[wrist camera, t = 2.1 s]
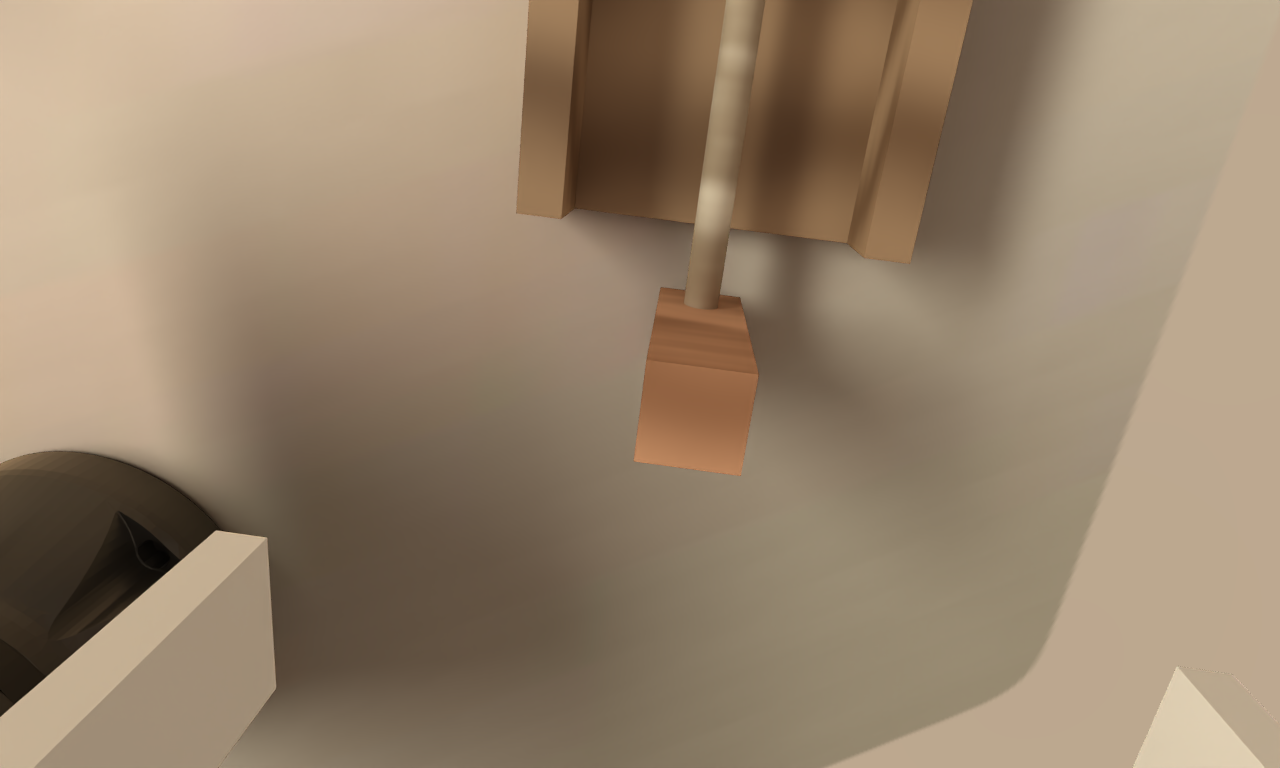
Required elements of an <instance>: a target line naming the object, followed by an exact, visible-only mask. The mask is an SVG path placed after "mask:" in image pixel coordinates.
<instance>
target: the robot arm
mask: <svg viewBox="0 0 1280 768" xmlns="http://www.w3.org/2000/svg"><path fill="white" fill-rule="evenodd" d="M275 689H276V675H275V658H274V641H273V625H272V608H271V591H270V575H269V558H268V541H267V537H260V536H252V535H245V534H238V533H231V532H224V531H220V529H219V528H218V527H217V526H216V525H215V524H214V523H213V522H212V521H211V519H210V518H209V517H208V516H207V515H206V514H205V513H203V512H202V511H201V510H200V509H199V508H198V507H197V506H196V505H195V504H193V503H192V502H191V501H190V500H189V499H187V498H186V497H185V496H183V495H182V494H181V493H179V492H178V491H176V490H175V489H173V488H172V487H170V486H169V485H167V484H166V483H164V482H162V481H161V480H159V479H157V478H155V477H153V476H151V475H150V474H148V473H146V472H144V471H141V470H139V469H137V468H135V467H132V466H130V465H127V464H124V463H122V462H119V461H115V460H112V459H109V458H105V457H101V456H97V455H91V454H85V453H78V452H63V451H54V452H41V453H33V454H28V455H23V456H20V457H16V458H13V459H11V460H8V461H5V462H3V463H1V464H0V768H218V767H219V766H220V764H221V763H222V762H223V760H224V759H225V758H226V756H227V755H228V753H229V752H230V751H231V749H232V748H233V747H234V745H235V744H236V743H237V741H238V740H239V738H240V737H241V736H242V734H243V733H244V732H245V730H246V729H247V728H248V726H249V725H250V723H251V722H252V721H253V719H254V718H255V717H256V715H257V714H258V713H259V711H260V710H261V708H262V707H263V706H264V704H265V703H266V702H267V700H268V699H269V698H270V696H271V695H272V693H273V692H274V691H275ZM1133 768H1280V724H1279V723H1278V722H1277V721H1276V720H1275V718H1274V717H1273V716H1272V715H1271V714H1270V713H1269V712H1268V711H1267V710H1266V709H1265V708H1264V707H1263V706H1262V705H1261V704H1260V703H1259V702H1258V701H1257V700H1256V699H1255V697H1254V696H1252V694H1251V693H1250V692H1249V691H1248V690H1247V689H1246V688H1245V687H1244V686H1243V685H1242V684H1241V683H1240V682H1239V681H1238V680H1237V679H1236V678H1235V677H1234V676H1233V675H1232V674H1228V673H1222V672H1214V671H1207V670H1200V669H1193V668H1186V667H1179V666H1177V668H1176V670H1175V672H1174V674H1173V677H1172V679H1171V681H1170V683H1169V686H1168V688H1167V691H1166V693H1165V695H1164V697H1163V699H1162V702H1161V704H1160V706H1159V708H1158V711H1157V713H1156V715H1155V718H1154V720H1153V722H1152V724H1151V727H1150V729H1149V732H1148V734H1147V736H1146V738H1145V741H1144V743H1143V745H1142V747H1141V749H1140V752H1139V754H1138V757H1137V759H1136V761H1135V763H1134V765H1133Z"/></svg>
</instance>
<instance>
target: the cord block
mask: <svg viewBox="0 0 1280 768" xmlns="http://www.w3.org/2000/svg"><path fill="white" fill-rule="evenodd" d="M765 1H766V0H726V5H725V12H724V19H723V26H722V33H721V41H720V48H719V55H718V62H717V69H716V76H715V83H714V91H713V98H712V105H711V112H710V119H709V126H708V133H707V141H706V148H705V155H704V162H703V169H702V176H701V183H700V191H699V198H698V205H697V212H696V219H695V226H694V233H693V241H692V248H691V255H690V262H689V269H688V276H687V283H686V290H678V289H671V288H663V287H661V289H660V294H659V299H658V304H657V309H656V314H655V319H654V324H653V329H652V335H651V340H650V345H649V350H648V355H647V360H646V368H645V376H644V384H643V392H642V399H641V407H640V415H639V423H638V431H637V439H636V447H635V455H634V461H635V462H642V463H649V464H657V465H664V466H671V467H679V468H686V469H693V470H701V471H708V472H715V473H723V474H730V475H737V476H741V471H742V465H743V460H744V454H745V449H746V443H747V438H748V432H749V427H750V421H751V416H752V410H753V404H754V399H755V393H756V388H757V382H758V377H759V373H758V369H757V365H756V361H755V357H754V353H753V349H752V345H751V341H750V336H749V332H748V328H747V324H746V320H745V316H744V312H743V308H742V304H741V300H740V297H732V296H725V295H720V289H721V283H722V276H723V270H724V263H725V257H726V251H727V244H728V238H729V231H730V225H731V219H732V212H733V206H734V199H735V193H736V187H737V180H738V174H739V167H740V161H741V154H742V148H743V142H744V135H745V129H746V122H747V116H748V110H749V103H750V97H751V90H752V84H753V78H754V71H755V65H756V58H757V52H758V45H759V39H760V33H761V26H762V20H763V13H764V7H765Z"/></svg>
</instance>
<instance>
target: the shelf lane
mask: <svg viewBox="0 0 1280 768" xmlns="http://www.w3.org/2000/svg"><path fill="white" fill-rule="evenodd" d="M972 3H973V0H766V1H765V7H764V13H763V20H762V26H761V33H760V39H759V45H758V52H757V58H756V65H755V71H754V78H753V84H752V90H751V97H750V103H749V110H748V116H747V122H746V129H745V135H744V142H743V148H742V154H741V161H740V167H739V174H738V180H737V187H736V193H735V199H734V206H733V212H732V219H731V225H730V228H732V229H740V230H748V231H756V232H764V233H771V234H779V235H787V236H795V237H803V238H811V239H818V240H826V241H834V242H842V243H847V244H848V245H850V246H851V247H852V248H853V249H854V250H855V251H857V252H858V253H859V254H860V255H861V256H862V257H864V258H869V259H877V260H885V261H892V262H900V263H908V264H910V261H911V257H912V253H913V249H914V245H915V241H916V236H917V232H918V228H919V224H920V220H921V216H922V211H923V207H924V203H925V199H926V195H927V191H928V186H929V182H930V178H931V174H932V170H933V166H934V161H935V157H936V153H937V149H938V145H939V141H940V136H941V132H942V128H943V124H944V120H945V116H946V111H947V107H948V103H949V99H950V95H951V91H952V86H953V82H954V78H955V74H956V70H957V66H958V61H959V57H960V53H961V49H962V45H963V41H964V36H965V32H966V28H967V24H968V20H969V16H970V11H971V7H972ZM725 5H726V0H529V12H528V28H527V45H526V61H525V78H524V94H523V111H522V128H521V144H520V161H519V177H518V194H517V210H516V213H519V214H527V215H534V216H542V217H550V218H558V219H562V218H563V217H564V216H566V215H567V214H568V213H569V212H571V211H572V210H573V209H574V208H576V209H584V210H592V211H600V212H608V213H615V214H623V215H631V216H639V217H647V218H654V219H662V220H670V221H678V222H686V223H693V224H695V219H696V212H697V205H698V198H699V191H700V183H701V176H702V169H703V162H704V155H705V148H706V141H707V133H708V126H709V119H710V112H711V105H712V98H713V91H714V83H715V76H716V69H717V62H718V55H719V48H720V41H721V33H722V26H723V19H724V12H725Z"/></svg>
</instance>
